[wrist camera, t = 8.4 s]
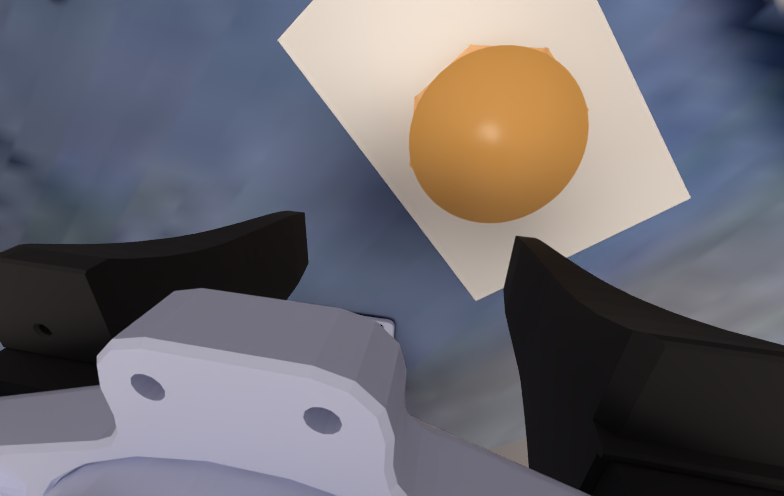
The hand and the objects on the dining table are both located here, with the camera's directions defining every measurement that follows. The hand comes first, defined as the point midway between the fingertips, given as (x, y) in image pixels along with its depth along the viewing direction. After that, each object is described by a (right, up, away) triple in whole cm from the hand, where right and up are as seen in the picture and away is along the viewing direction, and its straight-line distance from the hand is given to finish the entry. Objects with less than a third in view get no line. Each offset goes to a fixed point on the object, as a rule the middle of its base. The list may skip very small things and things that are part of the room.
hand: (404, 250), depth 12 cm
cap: (+4, +6, +5) cm, 9 cm away
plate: (+4, +7, +6) cm, 10 cm away
